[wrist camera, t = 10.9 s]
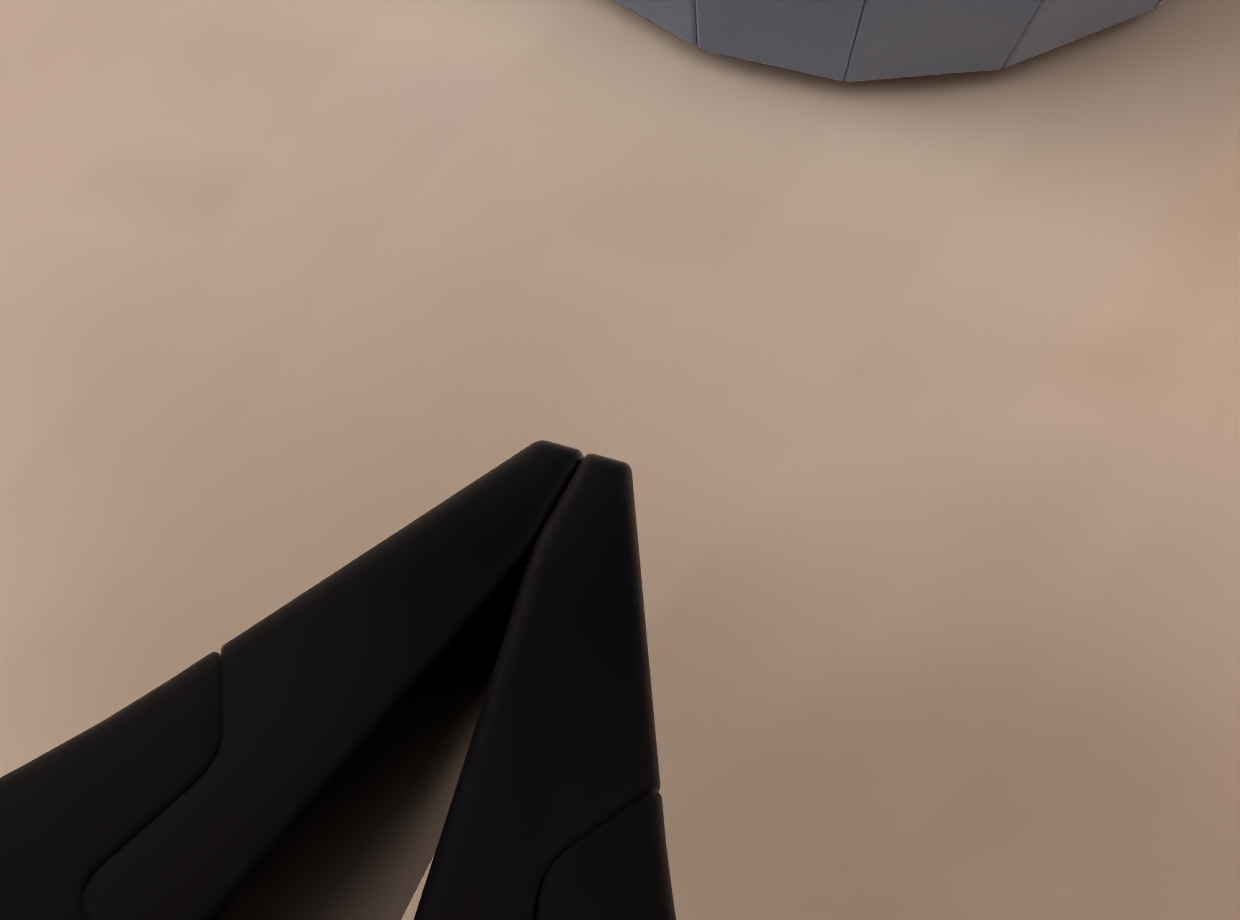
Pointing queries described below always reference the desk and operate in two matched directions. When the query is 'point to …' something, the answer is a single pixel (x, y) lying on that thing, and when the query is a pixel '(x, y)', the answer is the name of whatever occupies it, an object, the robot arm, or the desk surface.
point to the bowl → (885, 32)
